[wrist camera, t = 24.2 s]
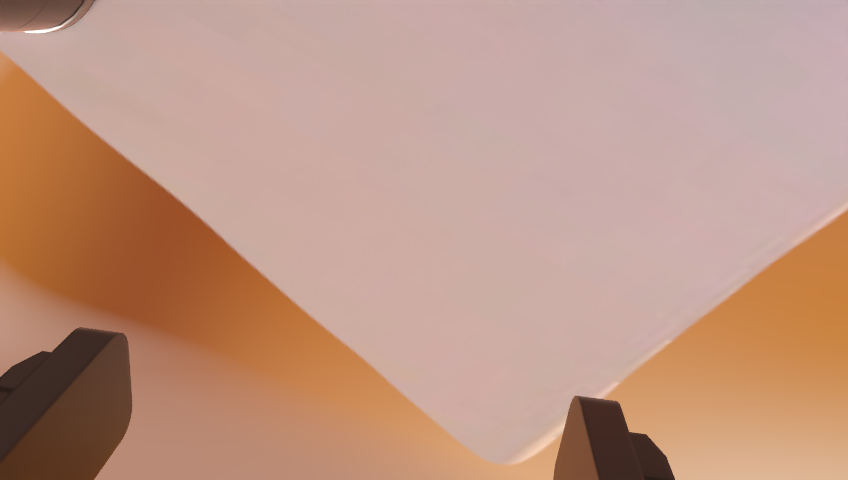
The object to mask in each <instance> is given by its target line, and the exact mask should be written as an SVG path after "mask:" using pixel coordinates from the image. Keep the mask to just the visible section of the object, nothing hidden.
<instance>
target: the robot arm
mask: <svg viewBox="0 0 848 480" xmlns="http://www.w3.org/2000/svg"><path fill="white" fill-rule="evenodd" d="M93 2H94V0H0V32H29V33H47V32H55V31H59V30H63V29H65V28H67V27H69V26H71V25H73V24H74V23H76V22H77V21H78V20H80V19H81V18H82V17H83V16H84V15H85V14H86V12H87V11H88V10H89V8H90V7H91V5H92V4H93ZM131 412H132V393H131V379H130V364H129V348H128V341H127V338H126V336H125V335H124V334H123V333H118V332H111V331H104V330H96V329H89V328H81V327H80V328H77V329H76V330H74V331H73V332H72V333H71V334H70V335H69V336H68V337H67V338H66V339H65V340H64V341H63V342H62V343H61V344H60V345H58V347H56V348H55V349H54V350H53V351H52V352H45V351H42V352H40V353H38V354H36V355H34V356H32V357H30V358H28V359H26V360H24V361H22V362H20V363H18V364H16V365H14V366H12V367H11V368H10V369H9V370H8V371H7V372H6V373H4V374H3V375H2V376H1V377H0V480H94V479H95V477H96V476H97V474H98V473H99V471H100V470H101V469H102V467H103V466H104V465H105V463H106V462H107V460H108V459H109V457H110V456H111V455H112V453H113V451H114V450H115V449H116V447H117V446H118V445H119V443H120V442H121V440H122V439H123V437H124V435H125V433H126V430H127V428H128V425H129V422H130V418H131ZM554 480H675V478H674V476H673V473H672V471H671V468H670V465H669V463H668V460H667V457H666V456H665V455H664V454H663V453H662V452H661V450H660V449H659V448H658V447H657V446H656V445H655V444H654V443H653V442H652V441H651V439H650V438H649V437H648V436H647V435H646V434H639V433H632V432H629V430H628V427H627V424H626V422H625V418H624V415H623V412H622V409H621V407H620V404H619V403H618V402H617V401H611V400H604V399H597V398H589V397H582V396H574V398H573V399H572V402H571V405H570V408H569V412H568V416H567V420H566V424H565V428H564V432H563V436H562V440H561V444H560V448H559V452H558V456H557V461H556V464H555V470H554Z"/></svg>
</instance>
